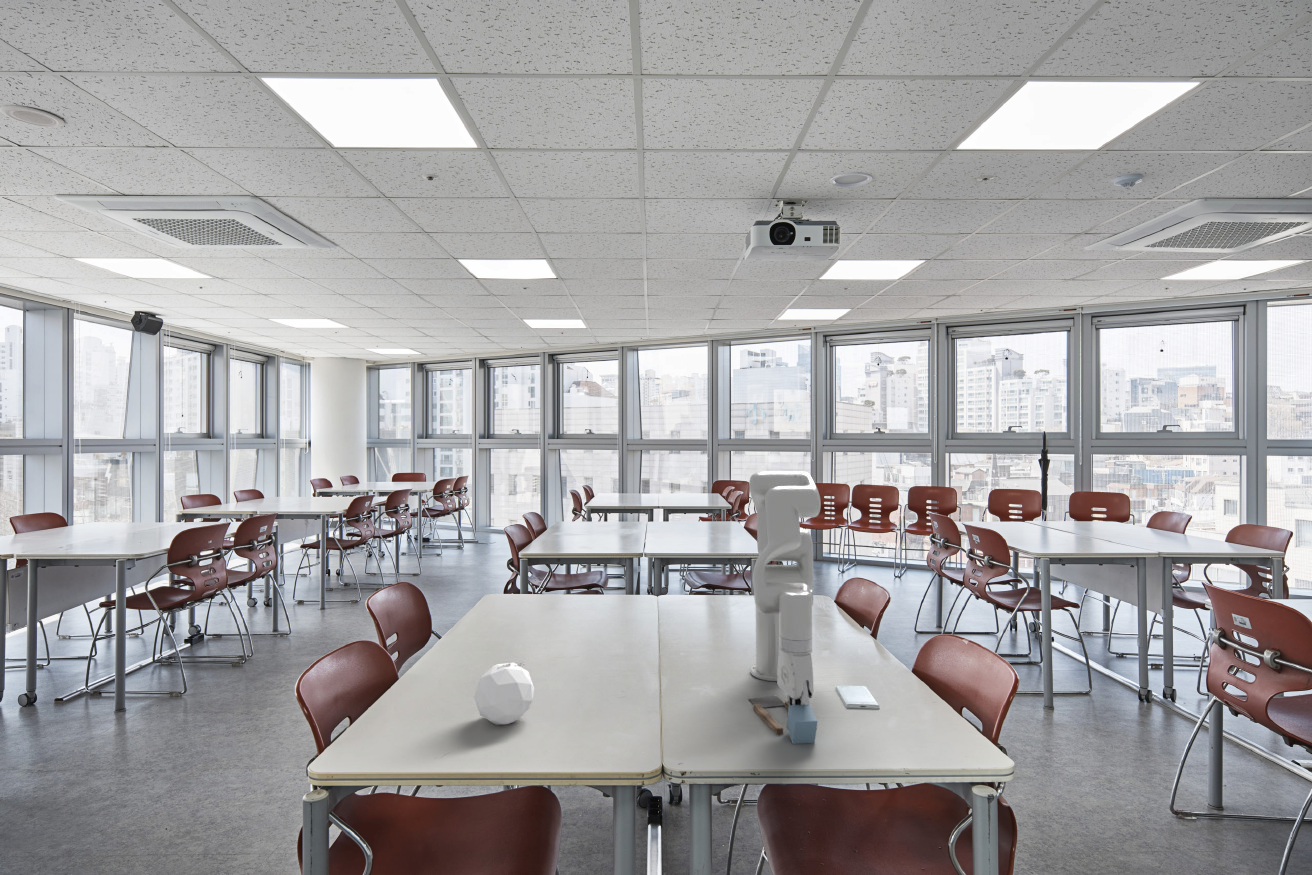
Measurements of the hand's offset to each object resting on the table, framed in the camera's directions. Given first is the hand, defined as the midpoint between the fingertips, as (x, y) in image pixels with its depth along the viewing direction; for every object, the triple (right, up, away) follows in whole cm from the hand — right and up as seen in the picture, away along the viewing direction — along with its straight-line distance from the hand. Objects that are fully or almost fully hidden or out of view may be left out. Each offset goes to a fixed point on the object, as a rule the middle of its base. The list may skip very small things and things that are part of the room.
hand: (796, 723), depth 142 cm
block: (0, -1, -4) cm, 4 cm away
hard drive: (+20, -3, +19) cm, 28 cm away
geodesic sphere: (-69, -2, +6) cm, 69 cm away
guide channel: (-2, -2, +9) cm, 10 cm away
